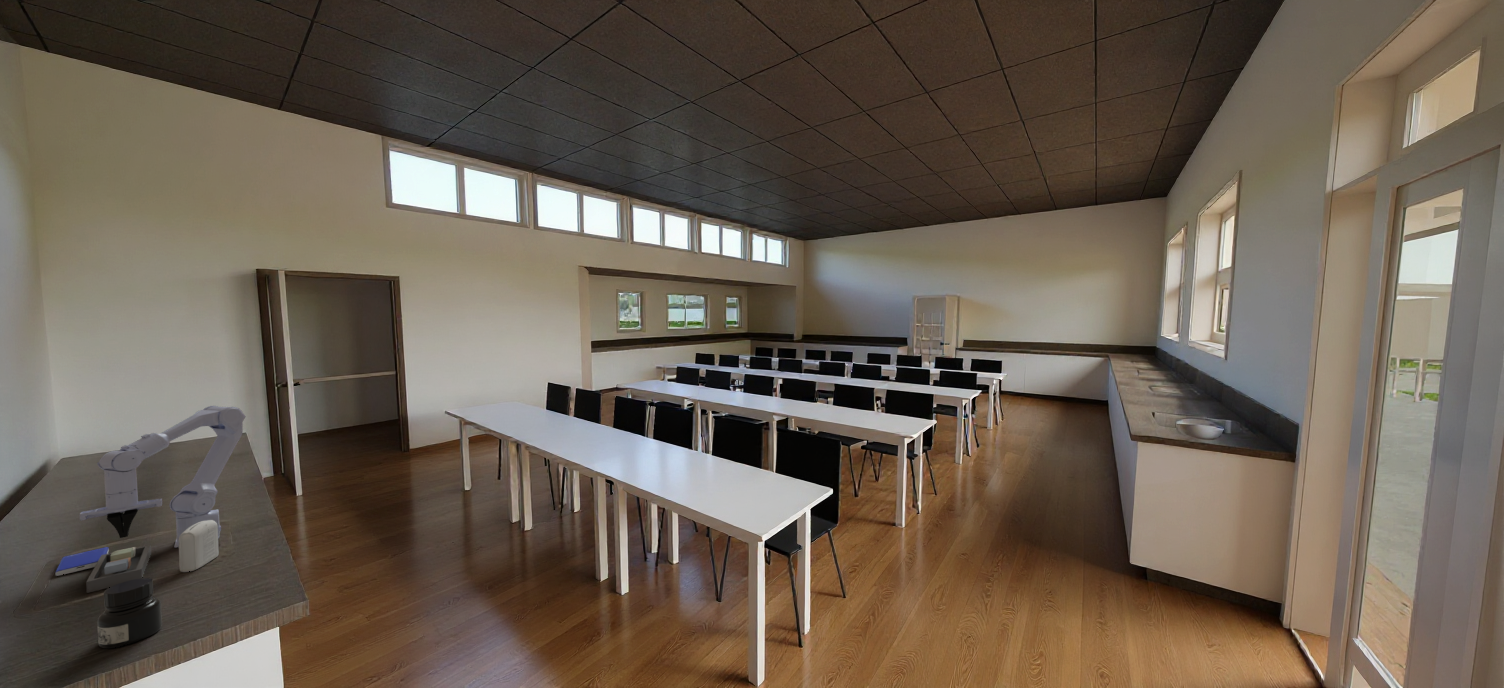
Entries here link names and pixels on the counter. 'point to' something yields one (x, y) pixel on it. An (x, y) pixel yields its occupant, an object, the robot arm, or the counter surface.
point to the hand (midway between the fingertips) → (124, 536)
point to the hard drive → (80, 561)
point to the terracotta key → (128, 562)
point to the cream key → (133, 551)
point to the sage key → (121, 554)
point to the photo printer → (198, 545)
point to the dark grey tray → (134, 572)
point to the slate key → (116, 566)
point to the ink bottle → (129, 613)
